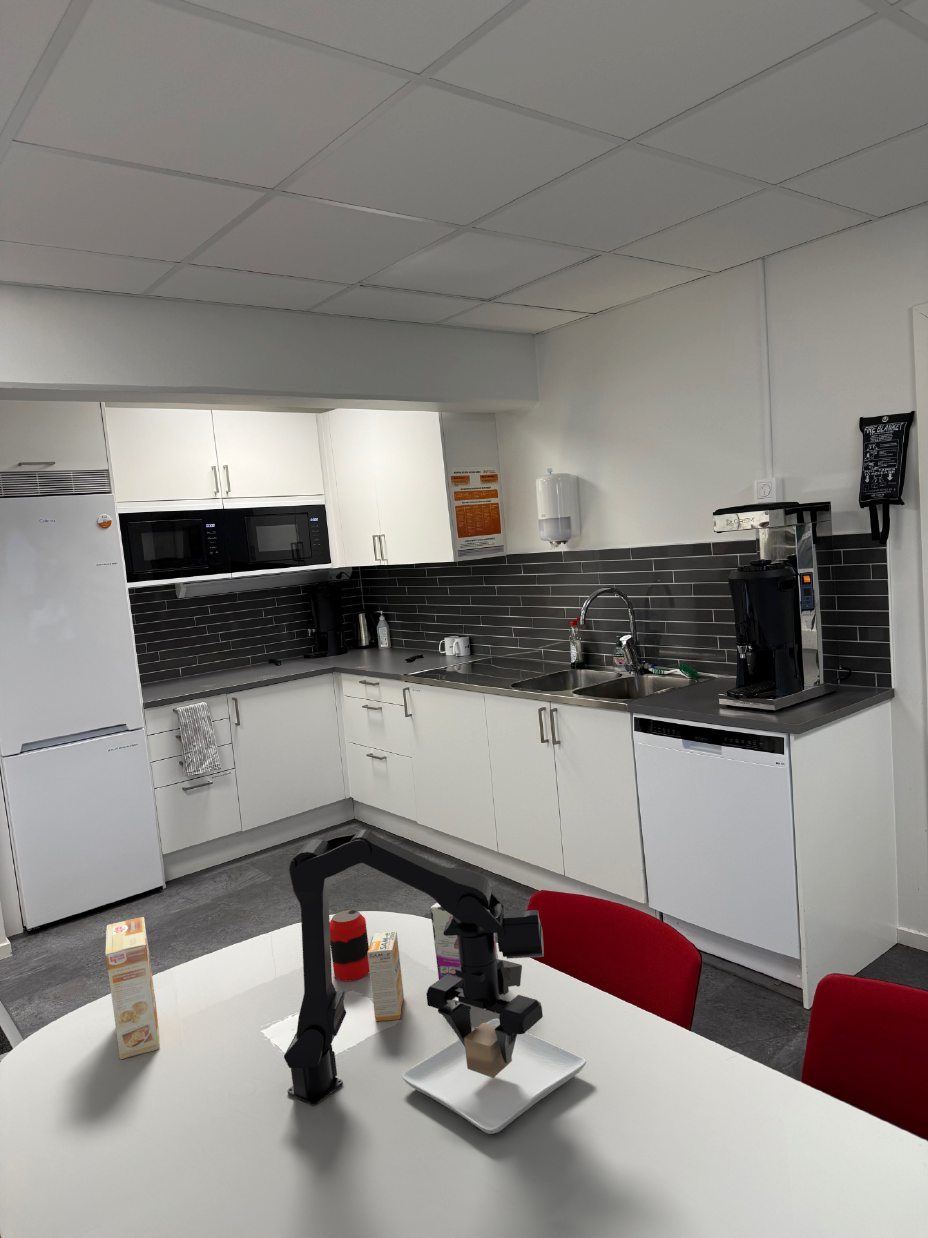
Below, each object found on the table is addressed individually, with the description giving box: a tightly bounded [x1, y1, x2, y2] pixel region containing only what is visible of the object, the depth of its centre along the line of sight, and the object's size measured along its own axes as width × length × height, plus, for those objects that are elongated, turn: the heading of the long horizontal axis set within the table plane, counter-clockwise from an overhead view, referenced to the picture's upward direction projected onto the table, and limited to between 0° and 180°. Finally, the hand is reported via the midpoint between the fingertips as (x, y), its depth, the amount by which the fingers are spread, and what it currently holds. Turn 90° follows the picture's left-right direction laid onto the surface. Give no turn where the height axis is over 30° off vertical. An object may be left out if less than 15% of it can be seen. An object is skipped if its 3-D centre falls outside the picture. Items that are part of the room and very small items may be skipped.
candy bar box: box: [430, 901, 499, 980], centre depth 166 cm, size 11×5×16 cm, turn 73°
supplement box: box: [367, 931, 404, 1022], centre depth 160 cm, size 8×5×13 cm, turn 179°
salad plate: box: [401, 1018, 587, 1135], centre depth 134 cm, size 21×21×3 cm
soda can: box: [330, 909, 370, 982], centre depth 176 cm, size 8×8×12 cm
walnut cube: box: [464, 1022, 512, 1078], centre depth 134 cm, size 5×5×5 cm
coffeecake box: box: [105, 916, 161, 1061], centre depth 160 cm, size 15×7×20 cm, turn 22°
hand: (488, 1055), depth 134 cm, fingers open, 7 cm apart
